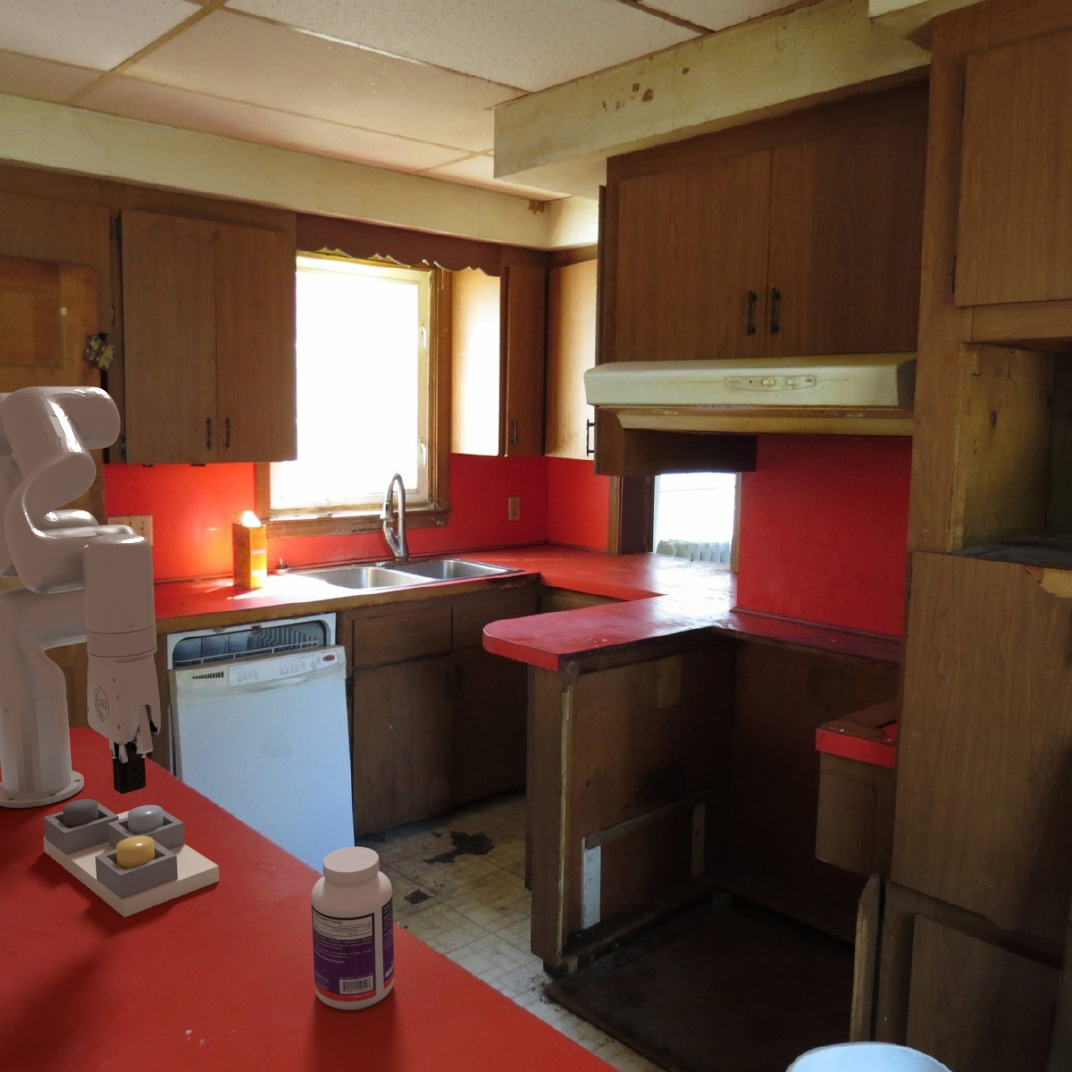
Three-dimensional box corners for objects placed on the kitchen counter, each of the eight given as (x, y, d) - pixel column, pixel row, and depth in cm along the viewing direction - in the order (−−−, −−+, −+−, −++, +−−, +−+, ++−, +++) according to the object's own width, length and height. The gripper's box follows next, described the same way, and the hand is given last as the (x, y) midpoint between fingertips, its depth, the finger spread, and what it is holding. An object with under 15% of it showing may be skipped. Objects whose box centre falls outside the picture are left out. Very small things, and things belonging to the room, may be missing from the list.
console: (44, 851, 133) (41, 815, 132) (132, 823, 142) (130, 789, 141) (124, 917, 117) (121, 877, 116) (219, 880, 125) (217, 843, 124)
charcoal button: (59, 834, 132) (57, 805, 132) (91, 824, 135) (89, 796, 135) (72, 844, 130) (70, 815, 129) (105, 834, 133) (103, 805, 132)
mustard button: (112, 875, 121) (110, 843, 121) (145, 863, 124) (144, 832, 124) (127, 886, 119) (125, 855, 118) (161, 874, 122) (159, 843, 121)
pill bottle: (359, 959, 108) (355, 833, 106) (411, 987, 103) (408, 855, 101) (298, 994, 102) (293, 861, 100) (350, 1026, 97) (345, 886, 95)
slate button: (123, 841, 130) (121, 811, 130) (154, 830, 133) (153, 802, 133) (138, 851, 128) (136, 821, 127) (169, 840, 131) (168, 811, 130)
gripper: (63, 634, 120) (72, 779, 123) (118, 660, 109) (127, 818, 112) (125, 623, 125) (132, 763, 128) (183, 647, 115) (190, 798, 118)
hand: (130, 788), depth 120 cm, fingers closed
